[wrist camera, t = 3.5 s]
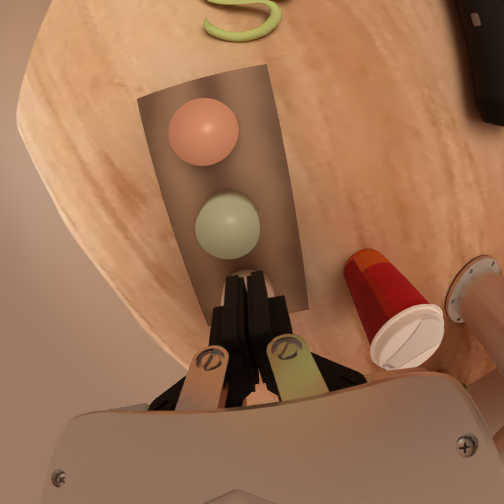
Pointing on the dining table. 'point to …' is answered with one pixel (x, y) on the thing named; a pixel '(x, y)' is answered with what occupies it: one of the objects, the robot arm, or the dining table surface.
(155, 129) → the switch board
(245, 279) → the cream button
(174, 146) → the terracotta button
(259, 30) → the figurine
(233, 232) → the sage button
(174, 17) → the dining table surface
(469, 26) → the portable speaker
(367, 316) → the paper cup
